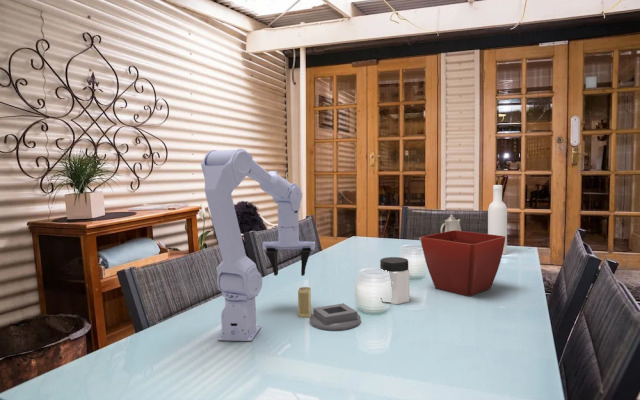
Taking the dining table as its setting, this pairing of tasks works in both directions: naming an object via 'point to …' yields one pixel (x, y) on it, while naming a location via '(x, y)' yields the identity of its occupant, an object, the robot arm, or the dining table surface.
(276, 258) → the robot arm
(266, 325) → the dining table surface
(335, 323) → the hub
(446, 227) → the chinaware
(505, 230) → the bottle
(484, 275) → the plant pot
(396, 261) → the jar
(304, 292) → the shaft
